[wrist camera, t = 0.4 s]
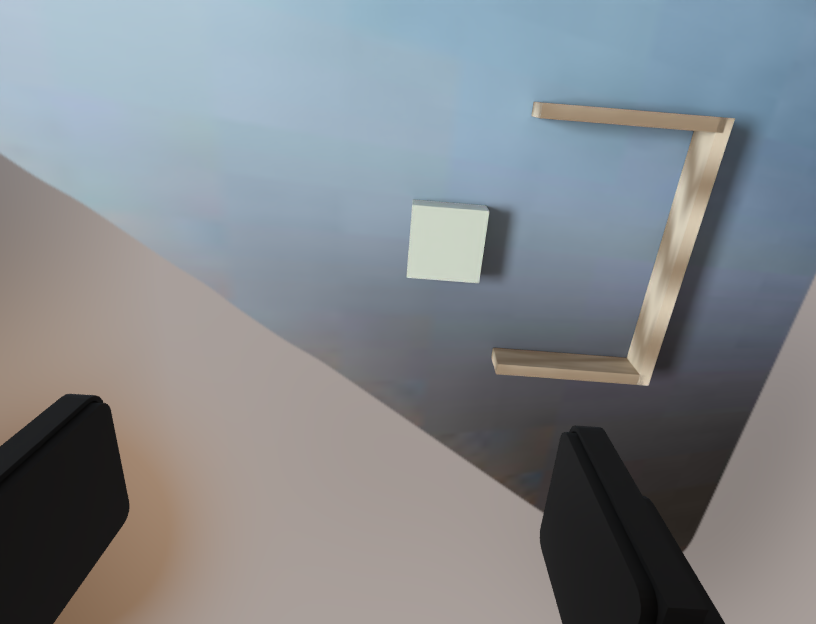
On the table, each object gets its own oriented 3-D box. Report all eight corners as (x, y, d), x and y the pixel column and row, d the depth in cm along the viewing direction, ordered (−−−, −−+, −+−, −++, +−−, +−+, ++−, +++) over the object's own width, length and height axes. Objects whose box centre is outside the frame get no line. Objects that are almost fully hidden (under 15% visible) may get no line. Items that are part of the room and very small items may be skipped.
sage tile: (412, 198, 40) (412, 205, 38) (485, 204, 41) (489, 211, 38) (407, 267, 43) (406, 277, 41) (475, 273, 43) (478, 283, 41)
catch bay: (533, 101, 37) (542, 102, 34) (711, 116, 37) (734, 118, 34) (491, 357, 46) (496, 373, 43) (634, 368, 46) (648, 385, 43)
